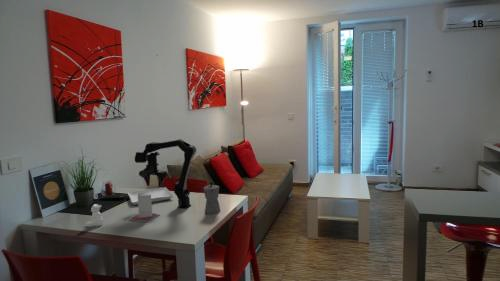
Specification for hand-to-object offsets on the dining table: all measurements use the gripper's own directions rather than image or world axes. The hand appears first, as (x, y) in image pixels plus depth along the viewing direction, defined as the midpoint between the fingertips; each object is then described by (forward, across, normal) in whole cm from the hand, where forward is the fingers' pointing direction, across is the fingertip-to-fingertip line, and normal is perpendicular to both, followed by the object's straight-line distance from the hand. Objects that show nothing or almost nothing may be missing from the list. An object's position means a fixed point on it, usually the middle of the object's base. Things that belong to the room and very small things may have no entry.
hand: (154, 186), depth 221 cm
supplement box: (+12, +9, -18) cm, 23 cm away
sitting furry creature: (+13, -10, -37) cm, 40 cm away
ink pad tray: (+13, +8, -19) cm, 24 cm away
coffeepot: (+13, +40, +4) cm, 42 cm away
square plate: (+14, -17, +14) cm, 26 cm away
